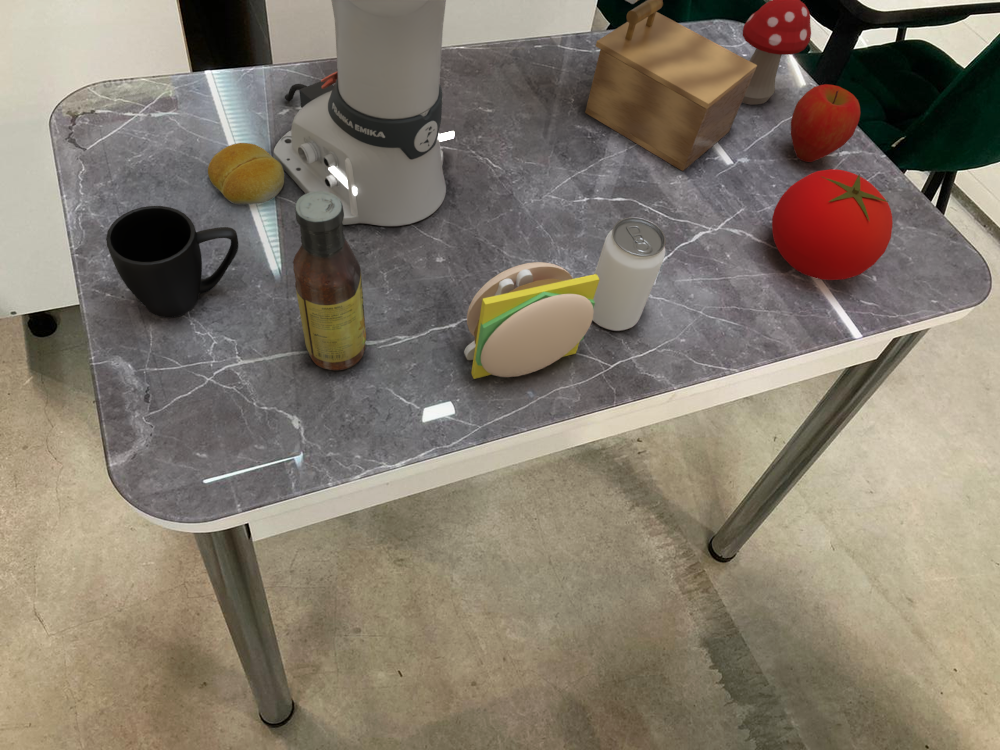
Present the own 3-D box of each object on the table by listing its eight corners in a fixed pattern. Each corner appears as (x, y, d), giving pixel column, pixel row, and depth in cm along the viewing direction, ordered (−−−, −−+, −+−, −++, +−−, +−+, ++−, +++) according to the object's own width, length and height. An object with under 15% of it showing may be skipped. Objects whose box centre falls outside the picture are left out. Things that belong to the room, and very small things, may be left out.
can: (595, 336, 89) (621, 262, 79) (577, 293, 93) (599, 217, 83) (648, 328, 91) (679, 254, 81) (628, 286, 94) (656, 211, 85)
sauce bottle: (378, 351, 84) (377, 211, 68) (333, 384, 81) (320, 245, 65) (336, 316, 87) (325, 172, 71) (291, 347, 83) (269, 204, 67)
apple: (831, 144, 116) (867, 78, 107) (837, 182, 111) (876, 116, 102) (773, 133, 116) (805, 66, 107) (777, 170, 111) (811, 104, 102)
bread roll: (241, 217, 93) (236, 191, 90) (200, 176, 97) (193, 149, 93) (300, 190, 97) (297, 164, 94) (259, 150, 101) (254, 124, 97)
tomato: (765, 209, 105) (802, 137, 96) (866, 242, 104) (914, 172, 95) (751, 274, 98) (790, 203, 89) (860, 310, 97) (912, 241, 87)
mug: (250, 319, 85) (237, 257, 77) (130, 332, 82) (103, 268, 74) (245, 263, 89) (233, 199, 82) (131, 273, 87) (106, 208, 79)
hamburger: (554, 312, 91) (574, 236, 81) (584, 369, 86) (609, 296, 77) (454, 335, 87) (463, 258, 77) (481, 395, 83) (493, 322, 73)
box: (584, 112, 113) (599, 49, 105) (634, 78, 120) (652, 16, 112) (682, 171, 108) (706, 109, 100) (729, 132, 115) (755, 70, 107)
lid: (595, 46, 105) (603, 12, 102) (647, 13, 112) (657, -21, 108) (706, 109, 100) (719, 75, 96) (755, 70, 107) (769, 37, 103)
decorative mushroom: (763, 74, 124) (804, -20, 112) (792, 108, 120) (838, 14, 108) (708, 81, 122) (744, -15, 109) (736, 116, 117) (776, 20, 105)
